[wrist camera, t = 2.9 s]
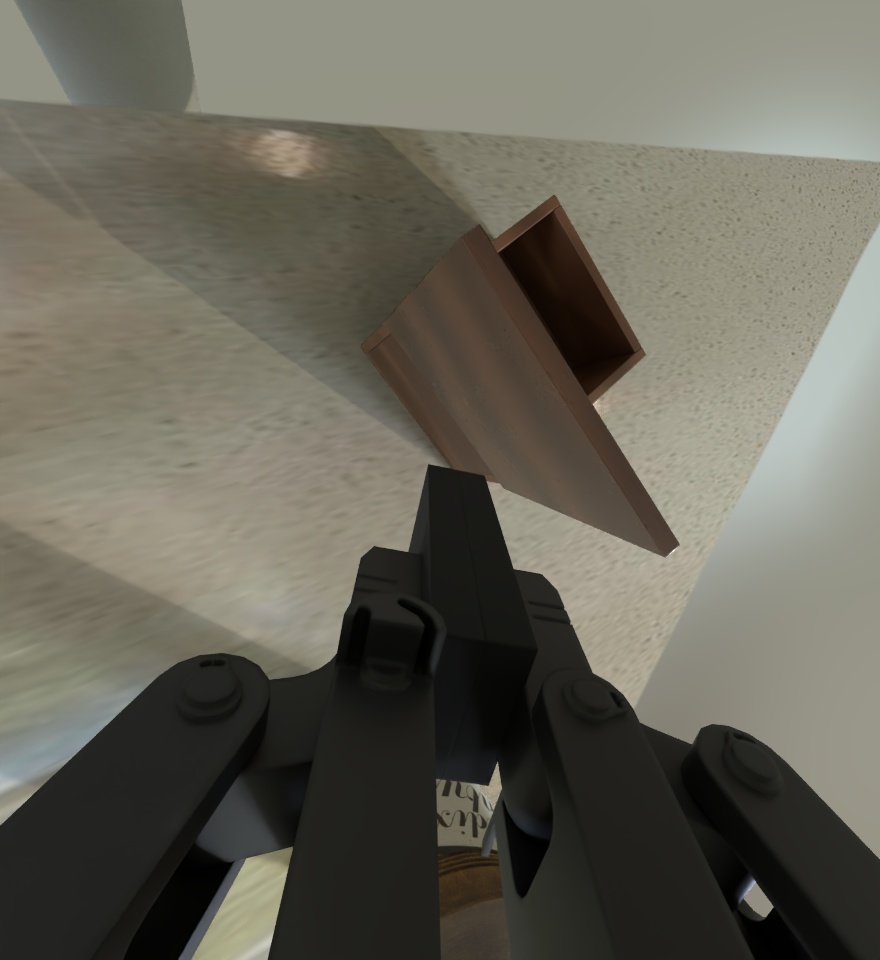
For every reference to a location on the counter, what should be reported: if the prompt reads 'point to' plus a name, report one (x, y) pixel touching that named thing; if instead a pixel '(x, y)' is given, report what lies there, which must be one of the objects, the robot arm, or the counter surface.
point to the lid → (520, 395)
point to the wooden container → (468, 877)
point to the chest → (559, 306)
